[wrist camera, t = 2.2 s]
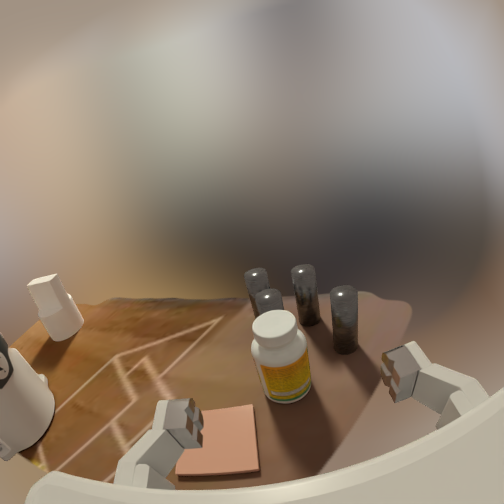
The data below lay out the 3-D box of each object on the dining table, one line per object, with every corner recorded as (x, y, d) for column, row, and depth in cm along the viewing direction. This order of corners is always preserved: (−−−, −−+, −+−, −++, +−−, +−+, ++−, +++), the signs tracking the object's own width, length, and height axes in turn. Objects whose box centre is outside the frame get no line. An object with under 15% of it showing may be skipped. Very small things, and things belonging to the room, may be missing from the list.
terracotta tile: (178, 475, 20) (175, 473, 20) (183, 415, 27) (181, 412, 27) (259, 470, 20) (258, 468, 19) (253, 407, 27) (252, 404, 27)
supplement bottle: (254, 386, 30) (233, 323, 26) (291, 362, 32) (278, 298, 28) (283, 414, 25) (266, 352, 22) (322, 385, 28) (315, 319, 24)
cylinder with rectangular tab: (90, 315, 53) (66, 266, 48) (70, 341, 45) (41, 288, 40) (64, 317, 54) (41, 272, 49) (45, 341, 46) (17, 293, 41)
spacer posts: (263, 375, 31) (248, 324, 28) (255, 316, 42) (243, 270, 39) (361, 350, 31) (361, 296, 28) (332, 298, 42) (327, 251, 39)
